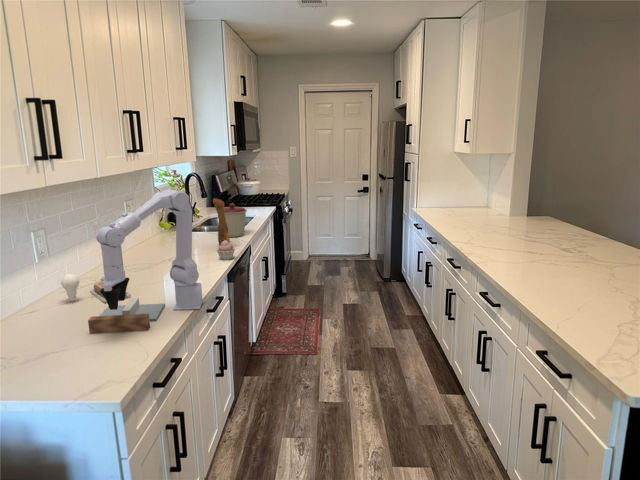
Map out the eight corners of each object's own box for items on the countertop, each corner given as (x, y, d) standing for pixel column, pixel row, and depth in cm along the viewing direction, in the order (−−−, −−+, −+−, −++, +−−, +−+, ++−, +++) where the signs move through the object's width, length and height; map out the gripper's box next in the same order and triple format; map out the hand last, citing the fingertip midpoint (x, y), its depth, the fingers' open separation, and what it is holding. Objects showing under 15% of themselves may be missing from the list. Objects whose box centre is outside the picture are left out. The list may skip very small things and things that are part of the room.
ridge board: (164, 305, 164) (164, 295, 163) (156, 321, 150) (155, 310, 149) (108, 308, 161) (107, 298, 160) (95, 324, 148) (93, 313, 147)
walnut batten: (150, 327, 146) (149, 313, 145) (148, 331, 143) (146, 317, 142) (93, 330, 144) (91, 316, 142) (89, 334, 141) (87, 320, 139)
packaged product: (130, 287, 171) (104, 293, 164) (131, 298, 172) (105, 305, 166) (113, 276, 184) (88, 281, 177) (114, 287, 185) (89, 293, 178)
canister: (233, 240, 267) (232, 206, 262) (212, 236, 276) (211, 203, 271) (253, 235, 281) (252, 202, 276) (233, 231, 291) (231, 200, 286)
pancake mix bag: (220, 251, 240) (217, 201, 234) (214, 244, 258) (212, 196, 251) (232, 250, 243) (230, 200, 236) (226, 243, 260) (224, 196, 254)
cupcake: (237, 256, 231) (236, 238, 229) (232, 261, 222) (231, 242, 220) (220, 256, 232) (219, 237, 230) (214, 261, 223) (213, 241, 221)
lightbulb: (78, 303, 165) (74, 276, 163) (61, 304, 164) (57, 277, 162) (84, 298, 171) (80, 271, 169) (67, 298, 170) (63, 272, 168)
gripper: (107, 258, 145) (111, 297, 148) (91, 271, 131) (96, 314, 134) (130, 257, 145) (133, 296, 149) (116, 270, 131) (120, 313, 135)
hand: (117, 304), depth 141 cm, fingers open, 7 cm apart
